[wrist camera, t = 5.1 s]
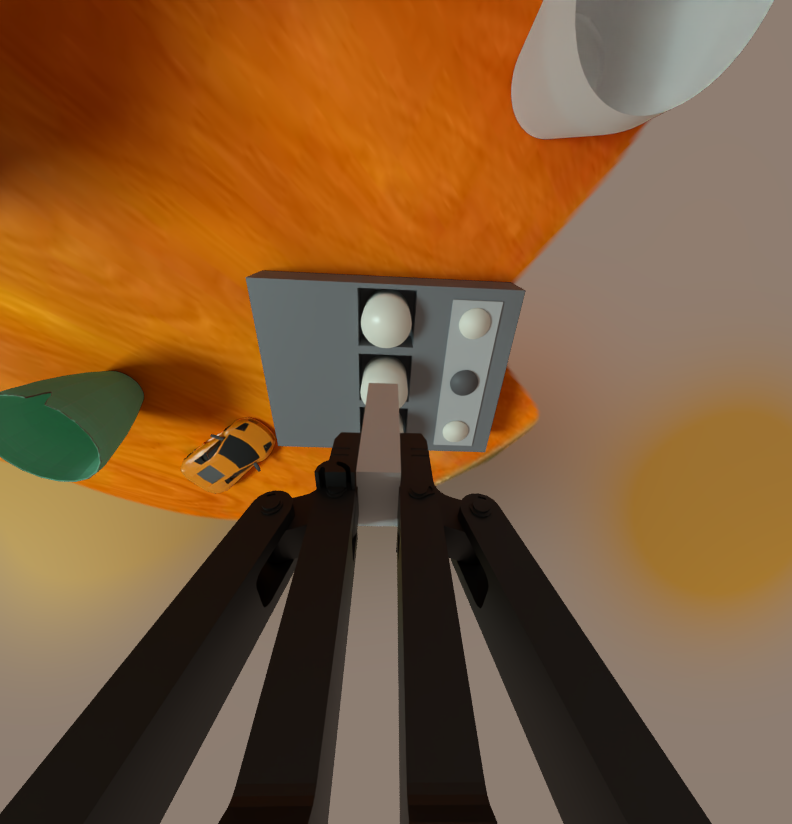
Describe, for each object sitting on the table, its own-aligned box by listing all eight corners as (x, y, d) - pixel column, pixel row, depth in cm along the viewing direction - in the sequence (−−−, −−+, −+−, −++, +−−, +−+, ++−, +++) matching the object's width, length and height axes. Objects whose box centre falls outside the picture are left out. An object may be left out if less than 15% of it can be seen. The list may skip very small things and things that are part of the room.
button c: (364, 333, 32) (361, 347, 28) (364, 287, 29) (360, 296, 26) (408, 335, 32) (409, 349, 28) (411, 289, 30) (413, 298, 26)
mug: (138, 344, 34) (52, 388, 25) (181, 420, 39) (122, 477, 30) (11, 359, 34) (-114, 407, 26) (70, 432, 40) (-17, 491, 31)
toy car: (288, 443, 41) (281, 459, 39) (223, 486, 45) (212, 503, 43) (247, 407, 38) (236, 422, 36) (181, 456, 42) (167, 473, 40)
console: (288, 426, 39) (277, 448, 36) (262, 270, 30) (243, 278, 26) (477, 432, 40) (485, 454, 36) (510, 282, 31) (527, 291, 27)
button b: (363, 392, 34) (360, 412, 30) (363, 353, 31) (359, 370, 28) (404, 394, 34) (406, 413, 30) (407, 355, 31) (409, 372, 28)
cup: (471, 118, 24) (528, 48, 14) (548, -52, 20) (709, -327, 10) (561, 181, 26) (666, 160, 16) (648, 40, 22) (864, -109, 12)
